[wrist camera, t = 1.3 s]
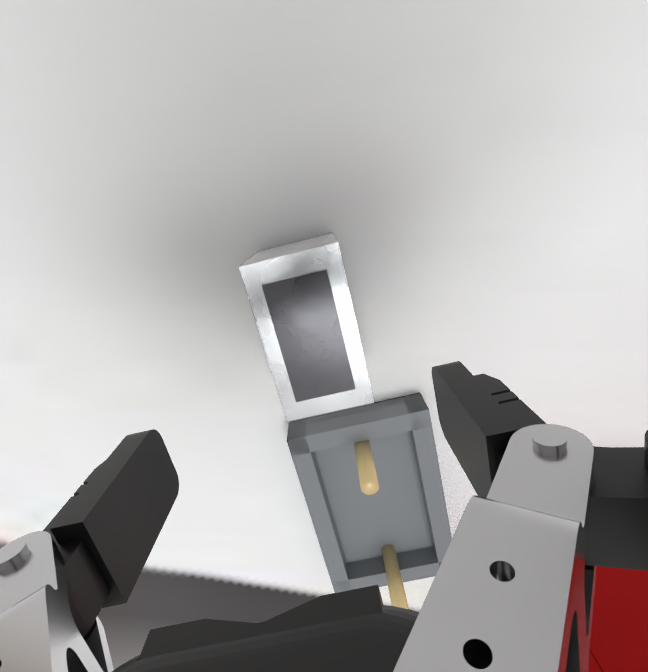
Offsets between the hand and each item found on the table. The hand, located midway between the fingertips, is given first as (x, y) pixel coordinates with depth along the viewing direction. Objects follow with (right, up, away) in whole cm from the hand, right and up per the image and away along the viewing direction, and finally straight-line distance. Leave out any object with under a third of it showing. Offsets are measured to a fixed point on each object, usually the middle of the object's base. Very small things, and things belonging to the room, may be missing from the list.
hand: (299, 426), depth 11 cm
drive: (0, +4, +13) cm, 14 cm away
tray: (+4, -8, +17) cm, 19 cm away
